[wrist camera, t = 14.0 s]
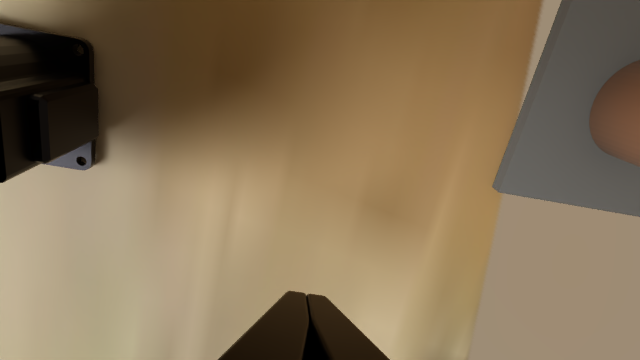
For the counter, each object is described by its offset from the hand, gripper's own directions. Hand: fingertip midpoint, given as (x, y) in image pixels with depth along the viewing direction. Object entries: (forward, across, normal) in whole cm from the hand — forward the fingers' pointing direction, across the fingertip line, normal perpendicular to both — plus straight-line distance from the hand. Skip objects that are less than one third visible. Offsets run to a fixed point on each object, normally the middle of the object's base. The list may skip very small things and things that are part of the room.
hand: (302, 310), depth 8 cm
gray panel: (+13, +16, +5) cm, 21 cm away
